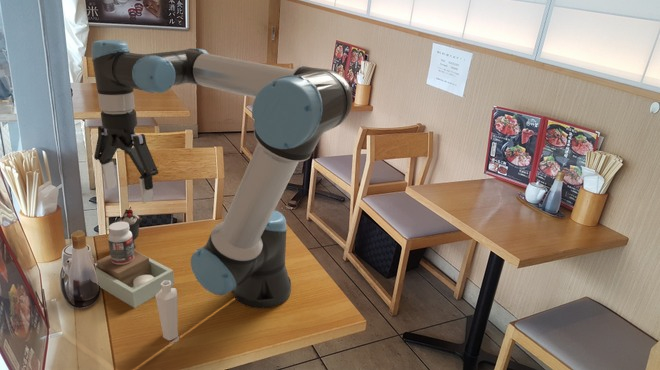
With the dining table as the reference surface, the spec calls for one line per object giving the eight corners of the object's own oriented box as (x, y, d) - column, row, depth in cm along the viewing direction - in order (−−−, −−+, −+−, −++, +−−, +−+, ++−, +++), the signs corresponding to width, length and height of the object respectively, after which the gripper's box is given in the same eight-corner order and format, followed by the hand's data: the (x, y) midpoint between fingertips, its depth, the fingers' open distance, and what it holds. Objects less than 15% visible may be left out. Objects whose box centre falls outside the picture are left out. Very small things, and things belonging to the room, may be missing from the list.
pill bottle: (133, 264, 118) (129, 230, 115) (109, 266, 117) (104, 232, 113) (136, 252, 124) (132, 219, 120) (113, 254, 122) (108, 221, 118)
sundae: (136, 257, 134) (131, 211, 128) (115, 254, 135) (109, 207, 129) (149, 246, 140) (144, 201, 134) (129, 242, 141) (123, 198, 135)
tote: (174, 287, 122) (173, 270, 120) (135, 311, 113) (132, 292, 110) (131, 264, 131) (129, 247, 128) (91, 284, 121) (88, 266, 119)
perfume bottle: (175, 328, 108) (171, 274, 102) (184, 338, 105) (180, 283, 99) (156, 336, 105) (150, 281, 99) (165, 347, 102) (159, 291, 96)
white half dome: (159, 289, 120) (158, 279, 118) (143, 298, 116) (141, 288, 115) (147, 282, 122) (145, 272, 121) (130, 291, 118) (129, 281, 117)
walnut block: (150, 277, 124) (148, 258, 122) (120, 293, 117) (118, 273, 115) (129, 265, 128) (127, 246, 126) (99, 280, 121) (96, 261, 119)
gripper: (168, 115, 105) (176, 201, 113) (98, 99, 116) (110, 178, 124) (141, 122, 98) (151, 212, 107) (69, 104, 110) (84, 186, 118)
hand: (129, 194), depth 115 cm, fingers open, 13 cm apart
